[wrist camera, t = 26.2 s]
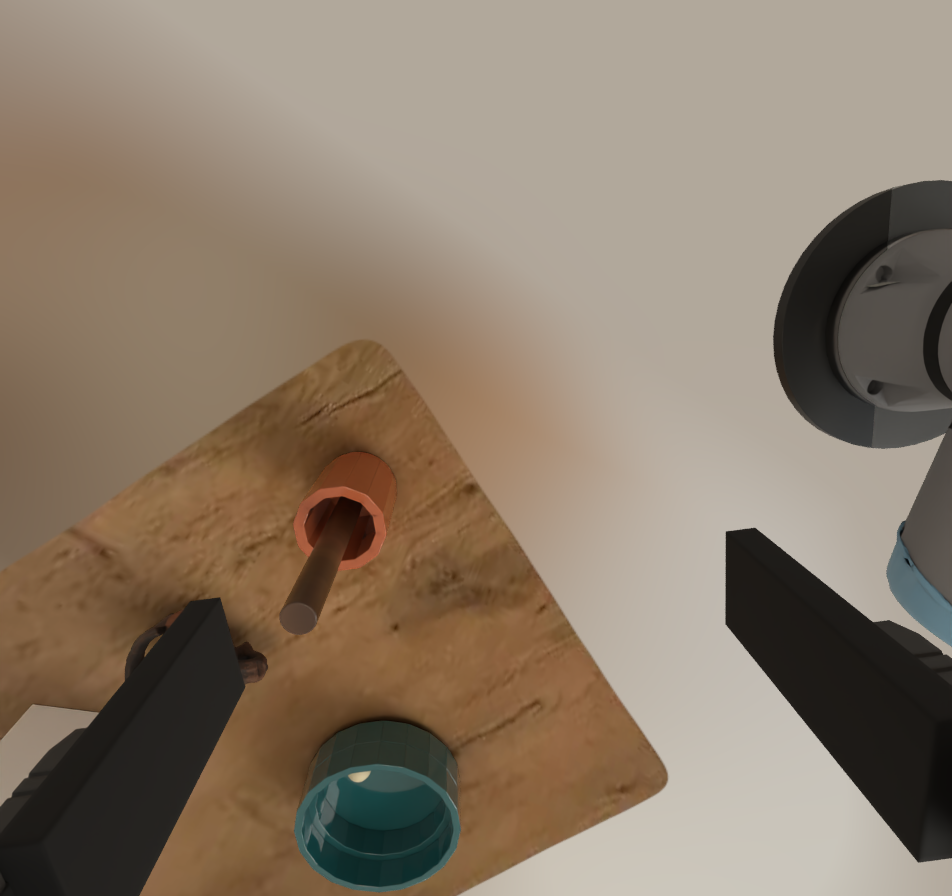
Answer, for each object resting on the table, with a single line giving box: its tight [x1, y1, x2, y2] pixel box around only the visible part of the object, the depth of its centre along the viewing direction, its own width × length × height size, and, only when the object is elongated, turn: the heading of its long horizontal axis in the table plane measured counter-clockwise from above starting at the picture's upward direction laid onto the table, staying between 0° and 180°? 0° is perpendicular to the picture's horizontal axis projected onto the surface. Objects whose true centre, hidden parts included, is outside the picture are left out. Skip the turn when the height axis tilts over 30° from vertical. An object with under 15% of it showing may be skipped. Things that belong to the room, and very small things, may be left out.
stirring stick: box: [280, 496, 363, 635], centre depth 40 cm, size 2×2×20 cm
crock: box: [293, 452, 397, 571], centre depth 46 cm, size 7×7×9 cm
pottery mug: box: [125, 609, 268, 684], centre depth 51 cm, size 12×10×8 cm
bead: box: [348, 771, 371, 782], centre depth 56 cm, size 2×2×2 cm
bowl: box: [294, 720, 461, 892], centre depth 56 cm, size 15×15×6 cm
